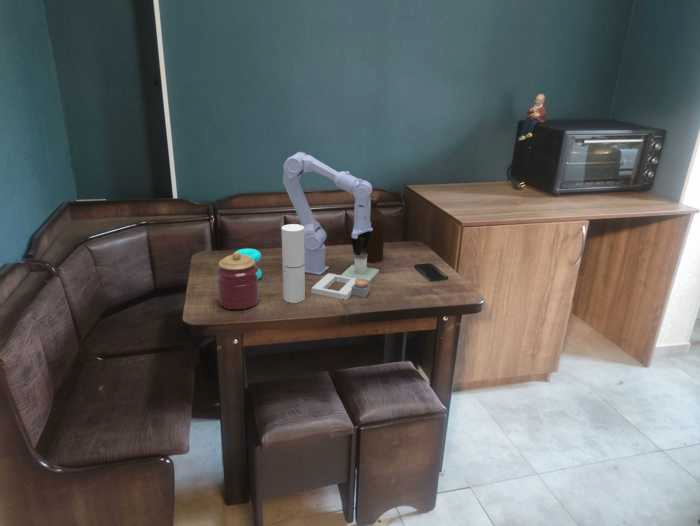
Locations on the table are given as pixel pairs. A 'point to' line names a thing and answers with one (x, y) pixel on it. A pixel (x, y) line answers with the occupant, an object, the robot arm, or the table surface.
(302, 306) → the table surface
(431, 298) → the table surface
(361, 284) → the plunger
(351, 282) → the housing
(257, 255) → the cyan rounded piece
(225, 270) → the canister
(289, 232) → the cylindrical container
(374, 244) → the olive oil
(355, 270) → the cylinder
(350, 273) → the mat
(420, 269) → the phone
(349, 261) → the table surface
